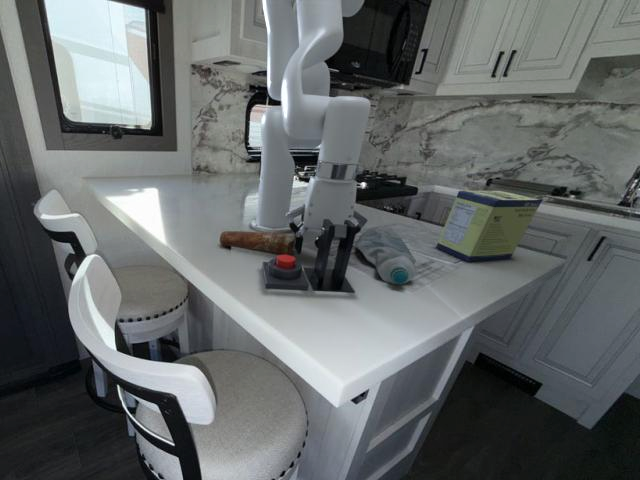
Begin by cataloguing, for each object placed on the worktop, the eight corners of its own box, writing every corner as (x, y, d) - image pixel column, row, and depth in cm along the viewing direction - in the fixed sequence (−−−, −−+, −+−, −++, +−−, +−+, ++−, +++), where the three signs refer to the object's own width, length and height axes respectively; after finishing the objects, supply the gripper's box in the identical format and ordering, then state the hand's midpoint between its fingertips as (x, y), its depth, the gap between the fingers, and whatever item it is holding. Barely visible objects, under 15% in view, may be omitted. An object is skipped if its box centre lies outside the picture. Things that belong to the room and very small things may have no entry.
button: (275, 262, 62) (276, 254, 61) (292, 262, 62) (293, 254, 61) (276, 269, 59) (278, 261, 58) (295, 270, 59) (296, 262, 58)
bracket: (302, 272, 67) (312, 214, 60) (338, 274, 67) (352, 216, 60) (311, 295, 58) (325, 230, 52) (353, 297, 58) (371, 232, 52)
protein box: (511, 258, 81) (544, 199, 73) (467, 262, 77) (497, 199, 69) (475, 244, 90) (501, 190, 82) (434, 247, 86) (457, 190, 78)
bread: (291, 261, 72) (294, 238, 69) (216, 248, 77) (216, 226, 74) (295, 252, 77) (299, 230, 74) (225, 240, 82) (226, 219, 79)
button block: (261, 270, 66) (263, 253, 64) (298, 272, 67) (301, 255, 65) (265, 293, 58) (267, 274, 56) (306, 295, 58) (310, 276, 56)
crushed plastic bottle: (350, 246, 82) (356, 286, 61) (359, 220, 79) (369, 253, 57) (401, 257, 80) (425, 302, 59) (412, 231, 77) (443, 269, 55)
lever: (312, 250, 69) (313, 236, 68) (326, 251, 69) (327, 236, 69) (331, 239, 56) (332, 221, 56) (348, 239, 56) (349, 222, 56)
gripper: (371, 171, 63) (351, 249, 72) (289, 166, 63) (279, 245, 72) (386, 177, 57) (362, 262, 66) (294, 172, 56) (282, 257, 65)
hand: (319, 253), depth 69 cm, fingers open, 9 cm apart
